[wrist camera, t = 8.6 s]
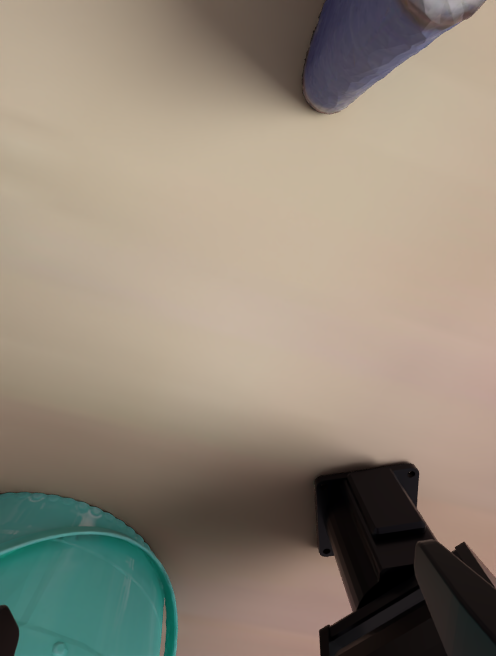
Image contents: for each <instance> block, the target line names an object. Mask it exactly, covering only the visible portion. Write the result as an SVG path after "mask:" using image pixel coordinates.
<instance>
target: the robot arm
mask: <svg viewBox="0 0 496 656" xmlns="http://www.w3.org/2000/svg"><path fill="white" fill-rule="evenodd" d="M410 471H411V472H410ZM418 481H419V471H418V469H417V468H416V467H415V465H414V464H411V463H408V464H401V465H394V466H387V467H380V468H373V469H366V470H360V471H353V472H346V473H339V474H332V475H325V476H320V477H318V478H317V479H316V480H315V483H314V485H315V504H316V522H317V541H318V549H319V553H320V555H321V556H324V557H328V556H335V559H336V562H337V565H338V568H339V571H340V574H341V577H342V581H343V584H344V587H345V590H346V593H347V596H348V599H349V602H350V605H351V608H352V611H353V612H352V613H351V614H349V615H347V616H346V617H344V618H343V619H341V620H339V621H338V622H336V623H334V624H333V625H331V626H330V625H327V626H325V627H324V628H322V629H320V630H319V636H320V655H321V656H496V578H495V576H494V575H493V574H492V573H491V572H490V571H489V570H488V568H487V567H486V566H485V565H484V564H483V563H482V561H481V560H480V559H479V558H478V557H477V556H476V555H475V553H474V552H473V551H472V550H471V549H470V548H469V546H468V545H467V544H466V543H465V542H463V543H461V544H459V545H458V546H456V547H455V549H456V550H454V551H452V552H450V551H449V550H448V549H447V548H445V547H444V546H443V545H442V544H440V543H439V542H438V541H437V539H436V538H435V536H434V535H433V533H432V532H431V530H430V528H429V527H428V525H427V524H426V522H425V521H424V519H423V517H422V516H421V514H420V513H419V511H418V510H417V495H418ZM322 484H325V485H322ZM18 640H19V627H18V625H17V623H16V621H15V619H14V617H13V615H12V613H11V611H10V609H9V607H8V606H7V605H0V656H14V655H15V651H16V648H17V644H18Z"/></svg>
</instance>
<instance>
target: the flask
mask: <svg viewBox="0 0 496 656" xmlns="http://www.w3.org/2000/svg"><path fill="white" fill-rule="evenodd" d="M485 1H486V0H326V1H325V3H324V5H323V8H322V12H321V13H320V15H319V21H318V24H317V26H316V27H315V31H313V35H312V38H311V42H310V47H309V50H308V52H307V55H306V59H305V64H304V71H303V74H302V77H303V78H302V84H303V94H304V96H305V98H306V100H307V102H308V103H309V104H310V106H311V107H312V108H314V109H316V110H317V111H318V112H320V113H326V114H333V113H337V112H339V111H341V110H342V109H344V108H346V107H347V106H348V105H349V104H350V103H352V102H353V101H354V100H355V99H357V98H358V97H359V96H360V95H361V94H363V93H364V92H365V91H366V90H367V89H368V88H370V87H371V86H372V85H373V84H374V83H376V82H377V81H379V80H381V79H382V78H384V77H385V76H386V75H387V74H388V73H390V72H391V71H392V70H393V69H394V68H395V67H397V66H398V65H400V64H401V63H403V62H404V61H405V60H407V59H408V58H409V57H411V56H413V55H415V54H417V53H418V52H419V51H420V50H422V49H423V48H425V47H427V46H428V45H429V44H430V43H431V42H432V41H433V40H434V39H436V38H437V37H438V36H440V35H441V34H443V33H444V32H446V31H448V30H450V29H451V28H453V27H454V26H456V25H457V24H459V23H460V22H461V21H463V20H466V19H468V18H470V17H471V16H472V15H473V14H474V13H475V12H476V11H477V10H478V9H479V8H480V7H481V6H482V5H483V3H484V2H485Z"/></svg>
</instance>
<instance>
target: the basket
mask: <svg viewBox="0 0 496 656" xmlns="http://www.w3.org/2000/svg"><path fill="white" fill-rule="evenodd" d="M164 598H165V606H166V617H167V618H166V628H167V629H166V641H165V652H164V656H176V648H177V633H178V619H177V608H176V600H175V595H174V591H173V588H172V585H171V582H170V579H169V577H168V575H167V573H166V571H165V569H164V567H163V565H162V564H161V563H160V561H159V560H158V559H157V558H156V556H155V554H154V553H153V552H152V551H151V550H150V547H149V545H148V544H147V543H145V542H144V540H143V538H142V537H141V536H140V535H138V534H136V533H135V531H134V530H133V529H132V528H131V527H128V526H126V525H125V523H124V522H123V521H121V520H119V519H116V518H115V517H114V516H113V515H111V514H110V513H107V512H103V511H102V510H101V509H99V508H97V507H92V506H89V505H88V504H87V503H85V502H78V501H75V500H74V499H72V498H62V497H60V496H58V495H46V494H43V493H33V494H32V493H29V492H20V493H11V492H10V493H4V494H0V605H7V606H8V607H9V609H10V611H11V613H12V615H13V617H14V619H15V621H16V623H17V625H18V627H19V640H18V644H17V648H16V651H15V655H14V656H159V654H160V644H161V633H162V621H163V607H164Z"/></svg>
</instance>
